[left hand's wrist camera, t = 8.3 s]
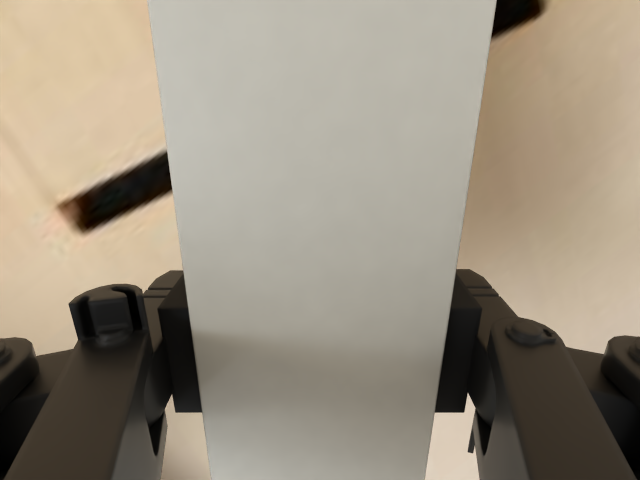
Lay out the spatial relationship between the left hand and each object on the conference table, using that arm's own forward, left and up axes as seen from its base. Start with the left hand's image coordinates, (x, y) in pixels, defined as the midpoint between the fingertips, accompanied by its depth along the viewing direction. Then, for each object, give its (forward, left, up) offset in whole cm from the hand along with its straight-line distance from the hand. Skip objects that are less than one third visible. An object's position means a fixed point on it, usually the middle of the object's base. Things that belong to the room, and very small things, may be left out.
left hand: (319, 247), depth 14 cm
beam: (+22, +5, -1) cm, 22 cm away
